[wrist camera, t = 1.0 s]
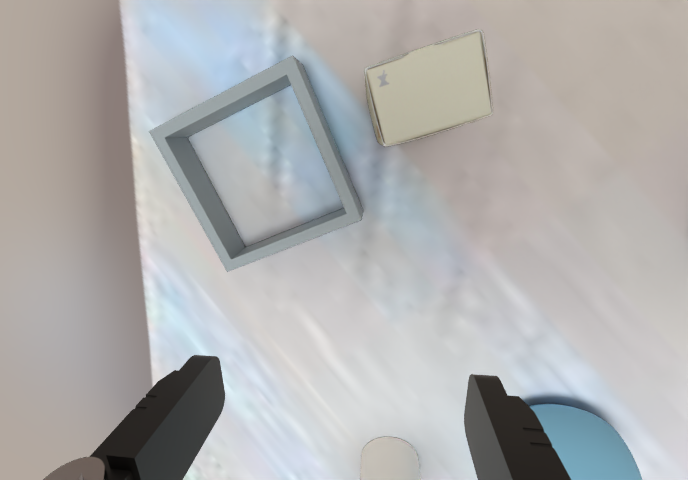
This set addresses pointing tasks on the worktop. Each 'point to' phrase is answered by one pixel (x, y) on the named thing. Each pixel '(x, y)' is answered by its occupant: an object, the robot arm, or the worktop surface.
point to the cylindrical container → (389, 460)
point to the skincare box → (430, 89)
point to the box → (201, 190)
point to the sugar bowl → (586, 444)
